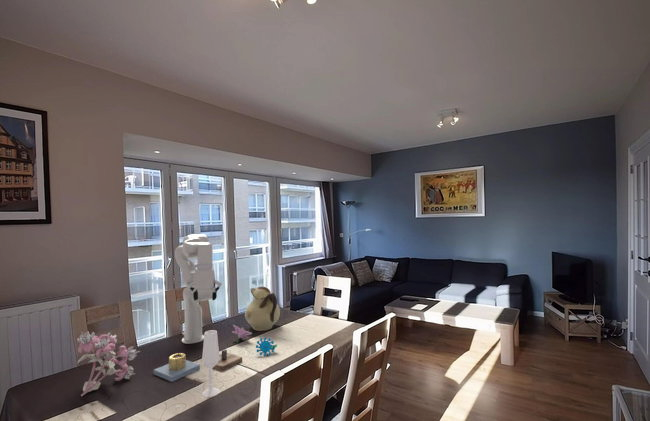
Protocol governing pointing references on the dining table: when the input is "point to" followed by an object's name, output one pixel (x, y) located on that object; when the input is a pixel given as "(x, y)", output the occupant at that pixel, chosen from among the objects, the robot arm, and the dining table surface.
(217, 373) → the dining table surface
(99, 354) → the flower
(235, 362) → the rod stand
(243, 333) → the lily
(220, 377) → the dining table surface
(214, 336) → the champagne flute
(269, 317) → the pitcher
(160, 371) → the hub plate
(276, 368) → the dining table surface
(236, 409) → the dining table surface
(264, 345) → the gear
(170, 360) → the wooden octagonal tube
